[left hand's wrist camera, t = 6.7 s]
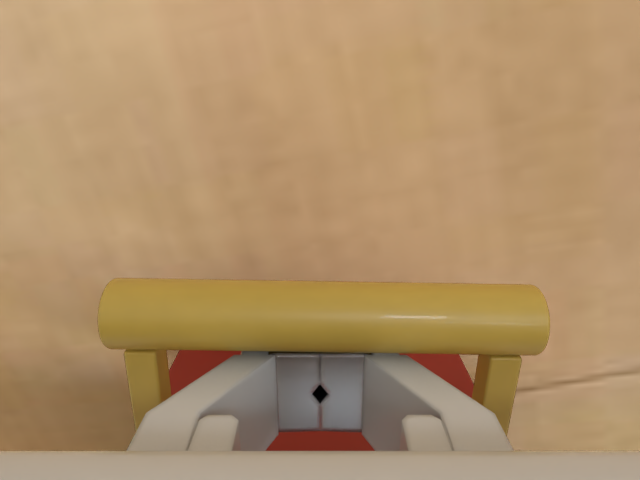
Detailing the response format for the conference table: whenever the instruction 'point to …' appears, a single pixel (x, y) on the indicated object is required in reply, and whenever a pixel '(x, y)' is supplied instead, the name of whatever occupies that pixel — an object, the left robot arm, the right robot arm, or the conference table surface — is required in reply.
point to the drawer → (322, 334)
